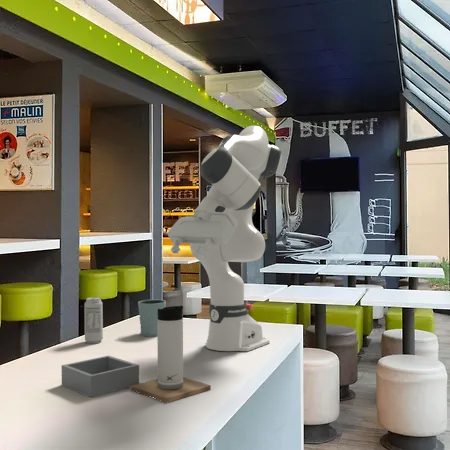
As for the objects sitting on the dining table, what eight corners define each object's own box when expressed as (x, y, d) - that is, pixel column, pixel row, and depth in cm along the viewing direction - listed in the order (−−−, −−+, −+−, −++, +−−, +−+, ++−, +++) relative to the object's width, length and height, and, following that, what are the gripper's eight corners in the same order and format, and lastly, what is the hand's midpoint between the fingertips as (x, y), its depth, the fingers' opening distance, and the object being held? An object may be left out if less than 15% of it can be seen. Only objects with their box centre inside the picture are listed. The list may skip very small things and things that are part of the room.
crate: (108, 373, 151) (108, 355, 150) (139, 384, 141) (139, 365, 141) (61, 384, 141) (61, 365, 141) (90, 397, 131) (90, 376, 131)
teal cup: (171, 333, 204) (171, 300, 204) (154, 338, 195) (153, 304, 195) (150, 330, 209) (150, 298, 209) (132, 335, 201) (132, 302, 200)
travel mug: (174, 391, 131) (173, 308, 131) (152, 387, 135) (152, 305, 135) (189, 385, 137) (188, 304, 136) (168, 381, 140) (167, 302, 140)
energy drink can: (105, 340, 192) (104, 297, 192) (99, 344, 186) (99, 299, 186) (88, 339, 193) (88, 297, 193) (82, 343, 187) (81, 299, 187)
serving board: (174, 378, 146) (174, 374, 146) (210, 389, 136) (210, 385, 136) (130, 389, 136) (130, 385, 136) (166, 403, 126) (166, 398, 126)
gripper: (178, 208, 161) (153, 243, 153) (233, 208, 148) (209, 246, 140) (188, 223, 164) (165, 258, 157) (243, 224, 151) (220, 262, 144)
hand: (186, 252), depth 148 cm, fingers open, 8 cm apart
